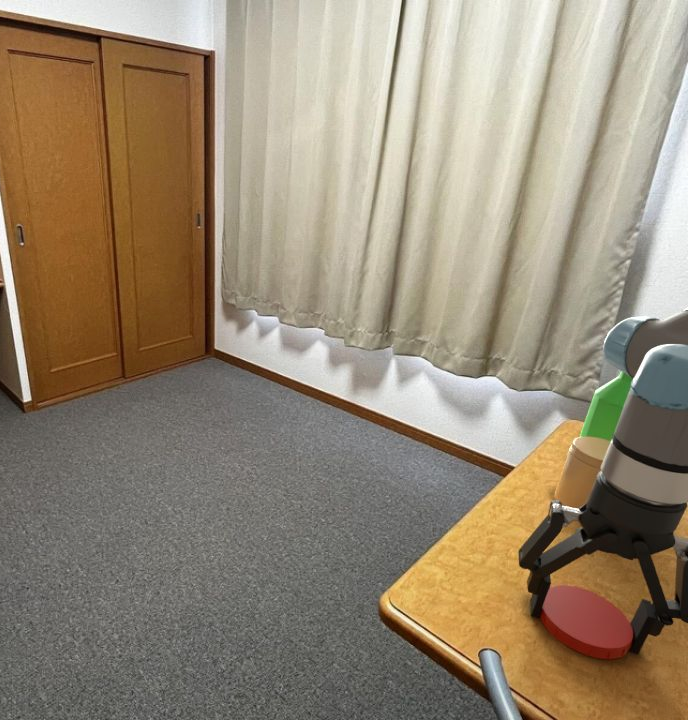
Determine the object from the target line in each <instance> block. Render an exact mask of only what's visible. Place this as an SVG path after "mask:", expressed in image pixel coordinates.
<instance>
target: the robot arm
mask: <svg viewBox="0 0 688 720" xmlns="http://www.w3.org/2000/svg"><path fill="white" fill-rule="evenodd" d="M602 347H603V348H602V350H603V355H604V357H605V359H606V361H607V362H608V364H610V365H611V366H613V367H614V368H616V369H618V370H619V371H620V372H621V371H622V372H624V373H625V374H627V375H628V376H630V377H631V378H633V379H632V381H631V385H630V390H629V393H628V396H627V399H626V402H625V404H624V407H623V410H622V413H621V416H620V418H619V421H618V424H617V427H616V430H615V432H614V434H613V438H612V440H611V442H610V445H609V447H608V450H607V452H606V455H605V457H604V460H603V462H602V465H601V471H600V472H599V473H598V475H597V477H596V480H595V482H594V485H593V488H592V490H591V493H590V495H589V498H588V501H587V503H586V504H585V505H583V506H582V507H580V508H579V509H575V508H570V507H565V506H563V505H562V503H561V502H560V501H558V500H556V499H554V500H550V503H549V508H548V513H547V515H546V516H545V518H543V520H542V521H541V522H540V524H539V525H538V526H537V527H536V529H535V530H534V531H533V532H532V533H531V535H530V536H529V537H528V538H527V540H525V542H524V543H523V544H522V545H521V547H520V548H519V549H518V566H519V567H520V568H521V569H522V570H523V569H524V570H529V574H528V577H527V580H526V587H527V589H526V590H527V593H530V594H531V597H530V600H529V603H530V604H529V605H530V607H529V608H530V616H531V617H533V618H536V619H539V618H540V615H539V614H540V612H541V609H542V606H543V604H544V601H545V598H546V596H547V593H548V590H549V588H550V587H551V586H552V577H551V575H552V574H554V573H556V572H557V571H559V570H561V569H563V568H564V567H566V566H567V565H570V564H571V563H573V562H575V561H577V560H578V559H580V558H581V557H583V556H585V555H587V556H591V555H592V554H594V553H595V552H597V551H600V552H603V553H606V554H612V555H617V556H619V557H621V558H623V559H626V560H629V561H634V560H637V562H638V563H639V566H640V570H641V573H642V575H643V578H644V581H645V584H646V587H647V589H648V592H649V595H650V598H651V600H647V599H645V598H642V599H641V601H640V603H639V605H638V607H637V609H636V611H635V613H634V615H633V617H632V618H631V621H630V624H631V626H632V629H633V639H632V645H631V648H630V649H629V650H628V652H629V653H632V654H634V655H637V656H638V655H639V654H640V651H641V649H642V648H643V645H644V644H645V642H646V640H647V638H648V636H649V635H650V636H651V637H655V638H656V637H658V636H660V635H661V633H662V631H663V629H664V628H665V626H667V627H669V626H673V625H674V619H678V620H681V622H683V623H686V624H688V537H687V538H685V537H681V536H679V535H676V534H674V533H675V531H676V530H677V528H678V526H679V524H680V522H681V520H682V518H683V516H684V515H685V512H686V510H687V508H688V307H687V308H685V309H683V310H682V311H679V312H676V313H675V314H673V315H671V316H669V317H667V318H665V319H662V320H660V319H659V318H656V317H649V316H644V315H643V316H642V315H641V316H639V315H638V316H632V317H628V318H625V319H623V320H621V321H619V322H618V323H617V324H616V325H614V326H613V327H612V329H610V331H609V332H608V333H607V335H606V337H605V339H604V342H603V346H602ZM574 521H575V522H576V521H578V522H579V524H580V527H578V528H577V529H576V530H574V533H573V534H571V535H570V536H567V538H565V539H563V540H561V541H560V542H558V543H557V544H555V545H554V546H552V547H550V548H549V549H547V548H548V547H549V546H550V545H551V544H552V543H553V542H554V540H556V538H557V537H558V536H559V535H560V533H561V532H562V530H563V528H568V527H569V525H570V524H572V522H574ZM671 548H673V552H674V554H675V556H676V566H675V583H674V598H673V599H674V600H671V599H667V598H666V595H665V592H664V590H663V587H662V584H661V582H660V579H659V575H658V572H657V568H656V566H655V564H654V561H653V560H654V559H653V558H652V556H653V555H656V554H658V553H661V552H663V551H666V550H669V549H671ZM651 601H652V602H651Z"/></svg>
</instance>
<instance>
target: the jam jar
mask: <svg viewBox="0 0 688 720" xmlns="http://www.w3.org/2000/svg"><path fill="white" fill-rule="evenodd" d="M610 442H611V441H608V440H605V439H601V438H596V437H580V436H578V437H576V438H574V439H573V440H572V442H571V446H570V447H569V449H568V452H567V455H566V458H565V461H564V465H563V467H562V470H561V474H560V476H559V478H558V482H557V485H556V488H555V491H554V494H553V496H554V500H558V501H560V502H561V503H562V505H563V506H565V507H570V508H575V509H579V508H580V507H582V506H583V505H585V504H586V503H587V501H588V498H589V495H590V493H591V490H592V488H593V485H594V482H595V480H596V477H597V475H598V473H599V472H600V471H601V465H602V462H603V460H604V457H605V455H606V452H607V450H608V447H609V445H610Z"/></svg>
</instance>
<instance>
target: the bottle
mask: <svg viewBox="0 0 688 720" xmlns="http://www.w3.org/2000/svg"><path fill="white" fill-rule="evenodd" d="M632 379H633V378H631V377H630V376H628V375H627V374H625V373H624V372H622V371H621V370H620V373H619V375H618V376H617V377H615V378H613V379H612V380H610V381H609V382H607V383H605V384H603V385H602V386H600V387H598V388H597V389H596V390H595V392H594V393H593V397H592V399H591V401H590V405H589V408H588V411H587V413H586V417H585V419H584V422H583V426H582V427H581V432H580V434H579V437H596V438H601V439H605V440H608V441H611V440H612V438H613V434H614V432H615V430H616V427H617V424H618V421H619V418H620V416H621V413H622V410H623V407H624V404H625V402H626V399H627V396H628V393H629V390H630V385H631V381H632Z"/></svg>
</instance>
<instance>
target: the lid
mask: <svg viewBox="0 0 688 720" xmlns="http://www.w3.org/2000/svg"><path fill="white" fill-rule="evenodd" d="M539 618H540V620H541V623H542V625H544V627H545V629H546V630H547V631H548V632H549V633H550V634H551V635H552V637H554V638H556V639H557V640H558V641H559V642H561V643H562V644H563V645H565V646H567V648H570V649H572V650H574V651H575V652H578V653H580V654H582V655H585V656H588V657H592V658H595V659H601V660H616V659H619V658H623V657H624V656H625V655H626V654H627V653H628V652H629V649H630V648H631V645H632V639H633V629H632V626H631V624H630V623H631V621H630V619H628V617H627V616H626V615H625V614H624V612H623V611H622V610H621V609H620V608H619V607H617V606H616V604H614V603H612V602H611V601H610V600H608V599H606V598H605V597H603V596H602V595H600V594H599V593H598V594H597V593H595V592H593V591H591V590H588V589H586V588H582V587H579V586H575V585H570V584H556V585H550V588H549V590H548V593H547V596H546V598H545V601H544V604H543V606H542V609H541V612H540V614H539Z"/></svg>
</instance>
